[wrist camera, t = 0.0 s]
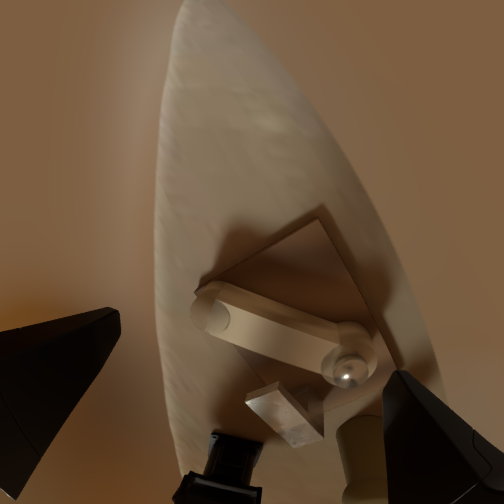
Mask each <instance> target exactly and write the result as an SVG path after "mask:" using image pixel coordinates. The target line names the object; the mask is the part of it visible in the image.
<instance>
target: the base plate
mask: <svg viewBox="0 0 504 504" xmlns="http://www.w3.org/2000/svg"><path fill="white" fill-rule="evenodd" d="M213 281H224V282H227V283H229V284H232V285H234V286H237V287H239V288H242V289H245V290H247V291H250V292H252V293H255V294H257V295H260V296H263V297H265V298H268V299H270V300H273V301H276V302H278V303H281V304H284V305H286V306H289V307H292V308H294V309H297V310H300V311H303V312H305V313H308V314H311V315H313V316H316V317H319V318H322V319H325V320H327V321H330V322H333V323H336V324H337V323H340V322H346V321H351V322H356V323H359V324H361V325H363V326H364V327H365V328H366V329H367V330H368V332H369V334H370V337H371V340H372V343H373V346H374V349H375V352H376V355H377V360H378V362H377V366H376V369H375V371H374V372H373V374H372V375H371V376H370V377H369V378H367V380H366V381H365V382H364V383H363V384H361V385H360V386H358V387H355V388H350V389H346V388H341V387H339V386H336V385H333V384H331V383H329V382H328V381H326V380H325V379H324V377H323V376H322V374H320V373H316V372H313V371H310V370H307V369H304V368H301V367H297V366H294V365H291V364H288V363H285V362H282V361H280V360H277V359H274V358H271V357H268V356H265V355H262V354H260V353H257V352H254V351H252V350H249V349H246V348H244V347H241V346H238V345H236V344H233V343H232V344H233V345H234V346H235V347H236V349H237V350H238V351H239V352H240V354H241V355H242V356H243V357H244V359H245V360H246V361H247V362H248V364H249V365H250V366H251V367H252V368H253V370H254V371H255V372H256V373H257V375H258V376H259V377H260V378H261V379H262V381H263V382H264V383H265V384H266V385H267V386H268V385H270V384H273V383H275V382H278V381H279V382H280V383H281V384H282V385H283V386H284V387H285V389H286V390H287V391H288V392H289V391H292V390H294V389H296V388H299V387H301V386H304V385H306V384H309V385H310V386H311V387H312V388H313V390H314V391H315V392H316V393H317V394H318V396H319V397H320V398H321V399H322V400H323V412H326V411H328V410H331V409H334V408H336V407H339V406H341V405H344V404H346V403H349V402H351V401H353V400H356V399H358V398H360V397H363V396H365V395H367V394H369V393H372V392H374V391H376V390H378V389H380V388H382V387H384V386H385V385H386V383H387V382H388V380H389V378H390V376H391V374H392V373H393V371H395V370H398V369H397V367H396V364H395V362H394V360H393V358H392V356H391V354H390V352H389V349H388V347H387V345H386V343H385V341H384V339H383V337H382V335H381V333H380V331H379V329H378V327H377V325H376V323H375V321H374V319H373V317H372V315H371V313H370V311H369V309H368V307H367V305H366V303H365V301H364V299H363V297H362V295H361V293H360V291H359V290H358V288H357V286H356V284H355V282H354V280H353V278H352V276H351V275H350V273H349V271H348V269H347V267H346V266H345V264H344V262H343V260H342V258H341V257H340V255H339V253H338V251H337V250H336V248H335V246H334V244H333V243H332V241H331V239H330V237H329V236H328V234H327V232H326V231H325V229H324V227H323V226H322V224H321V222H320V221H319V219H318V217H316V218H314V219H312V220H311V221H309V222H307V223H306V224H304V225H302V226H301V227H299V228H297V229H296V230H294V231H292V232H291V233H289V234H287V235H286V236H284V237H282V238H281V239H279V240H277V241H275V242H274V243H272V244H270V245H269V246H267V247H265V248H264V249H262V250H260V251H259V252H257V253H255V254H254V255H252V256H250V257H249V258H247V259H245V260H243V261H242V262H240V263H238V264H237V265H235V266H233V267H232V268H230V269H228V270H227V271H225V272H223V273H222V274H220V275H218V276H217V277H215V278H213V279H211V280H210V281H208V282H206V283H205V284H203V285H201V286H200V287H198V288H197V289H196V290H195V292H194V293H195V295H196V296H197V297H198V296H199V294H200V293H201V292H202V290H203V289H204V288H205V287H206V285H207V284H209V283H210V282H213Z"/></svg>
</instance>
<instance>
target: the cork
mask: <svg viewBox="0 0 504 504" xmlns="http://www.w3.org/2000/svg"><path fill="white" fill-rule="evenodd" d="M336 438H337V442H338V447H339V451H340V455H341V460H342V464H343V469H344V473H345V478H346V482H347V487H346V488H345V490H344V492H343V496H342V503H343V504H388V487H387V471H386V458H385V448H384V438H383V419H382V418H380V417H377V416H371V415H368V416H360V417H356V418H353V419H351V420H349V421H347V422H345V423H344V424H342V425H341V426H340V427H339V428H338V430H337V432H336Z"/></svg>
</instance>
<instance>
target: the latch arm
mask: <svg viewBox="0 0 504 504" xmlns="http://www.w3.org/2000/svg"><path fill="white" fill-rule="evenodd" d="M190 317H191V320H192V322H193V323H194V324H195V326H196V327H197V328H199V329H200V330H202V331H203V332H206V333H208V334H211V335H213V336H215V337H218V338H220V339H223V340H225V341H228V342H231V343H233V344H236V345H238V346H241V347H244V348H246V349H249V350H252V351H254V352H257V353H260V354H262V355H265V356H268V357H271V358H274V359H277V360H280V361H282V362H285V363H288V364H291V365H294V366H297V367H301V368H304V369H307V370H310V371H313V372H316V373H320V374H322V376H323V377H324V379H325V380H326V381H328V382H329V383H331V384H333V385H336V384H335V382H334V377H333V365H334V363H335V362H336V361H337V360H338V359H339V358H340V357H342V356H344V355H348V354H358V355H360V356H362V357H363V358H364V359H365V360H366V363H367V367H368V370H369V375H368V378H369V377H370V376H371V375H372V374H373V372H374V371H375V369H376V366H377V362H378V360H377V355H376V352H375V349H374V346H373V343H372V340H371V337H370V334H369V332H368V330H367V329H366V328H365V327H364V326H363V325H361V324H359V323H356V322H351V321H346V322H340V323H337V324H336V323H333V322H330V321H327V320H325V319H322V318H319V317H316V316H313V315H311V314H308V313H305V312H303V311H300V310H297V309H294V308H292V307H289V306H286V305H284V304H281V303H278V302H276V301H273V300H270V299H268V298H265V297H263V296H260V295H257V294H255V293H252V292H250V291H247V290H245V289H242V288H239V287H237V286H234V285H232V284H229V283H227V282H224V281H213V282H210V283H209V284H207V285H206V287H205V288H204V289H203V290H202V292H201V293H200V294H199V296H198V297H197V298H196V300H195V301H194V302H193V304H192V305H191V308H190ZM336 386H338V385H336Z"/></svg>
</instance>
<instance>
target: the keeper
mask: <svg viewBox="0 0 504 504" xmlns="http://www.w3.org/2000/svg"><path fill="white" fill-rule="evenodd" d="M368 375H369V370H368V367H367V363H366V360H365V359H364V358H363V357H362V356H360V355H358V354H348V355H344V356H342V357H340V358H339V359H338V360H337V361H336V362H335V363H334V365H333V377H334V382H335V384H336V385H338V386H339V387H341V388H346V389H350V388H355V387H358V386H360V385H361V384H363V383H364V382H365V381H366V380H367V378H368ZM245 403H246V404H247V405H248V406H249V407H250V408H251V409H252V410H253V411H254V412H255V413H256V414H257V415H258V416H259V417H260V418H261V419H262V420H264V421H265V422H266V423H267V424H268V425H269V426H270V427H271V428H272V429H273V430H274V431H275V432H276V433H277V434H279V435H280V436H281V437H282V438H283V439H284V440H285V441H286V442H287V443H289V444H290V445H291V446H292V447H293V448H297V447H300V446H304V445H307V444H310V443H313V442H316V441H319V440H322V439H324V412H323V400H322V399H321V398H320V397H319V396H318V394H317V393H316V392H315V391H314V390H313V388H312V387H311V386H310V385H309V384H306V385H304V386H301V387H299V388H296V389H294V390H292V391H289V392H288V391H287V390H286V389H285V387H284V386H283V385H282V384H281V383H280V382H279V381H278V382H275V383H273V384H270V385H268V386H265V387H263V388H260V389H258V390H255V391H253V392H250V393H247V395H246V399H245Z"/></svg>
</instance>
